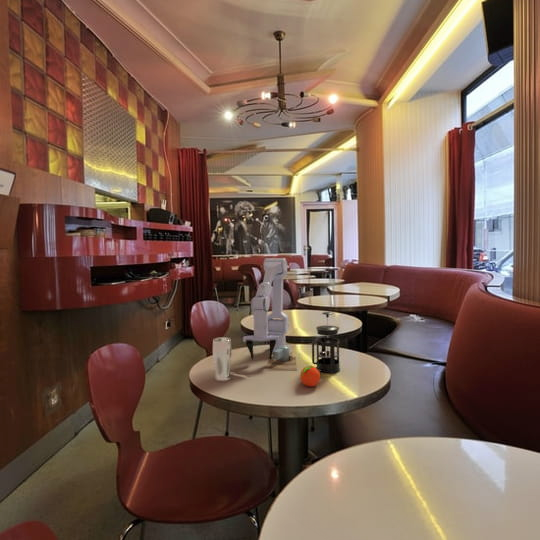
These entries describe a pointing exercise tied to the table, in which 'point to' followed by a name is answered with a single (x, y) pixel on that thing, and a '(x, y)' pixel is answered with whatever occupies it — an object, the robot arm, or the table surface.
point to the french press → (327, 356)
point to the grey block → (282, 353)
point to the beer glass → (222, 358)
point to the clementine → (310, 376)
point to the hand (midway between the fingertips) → (261, 358)
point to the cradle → (281, 364)
